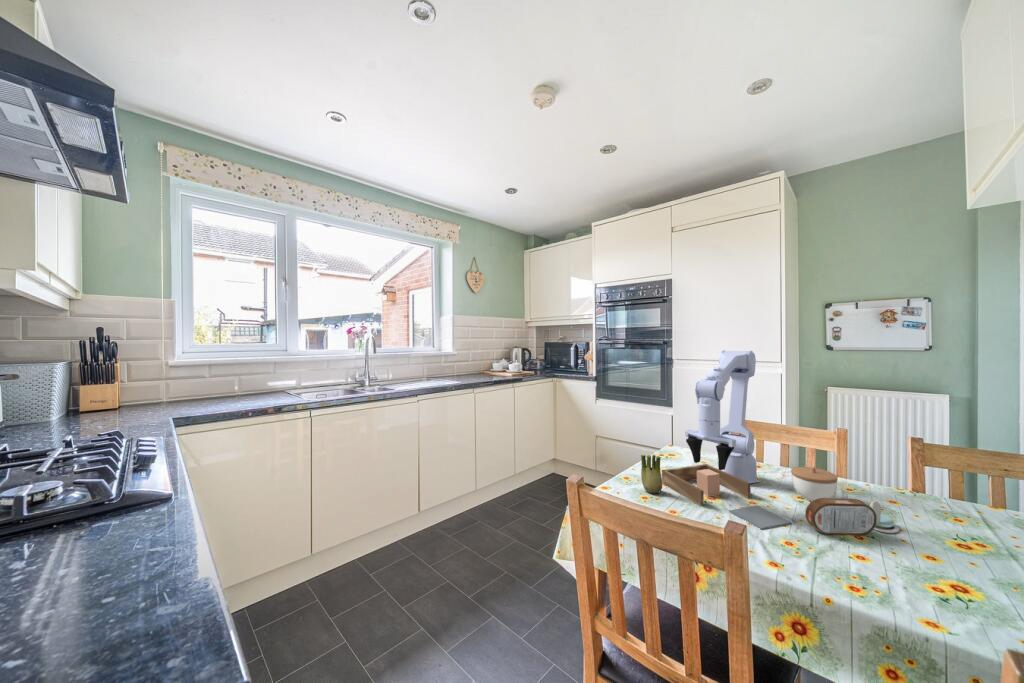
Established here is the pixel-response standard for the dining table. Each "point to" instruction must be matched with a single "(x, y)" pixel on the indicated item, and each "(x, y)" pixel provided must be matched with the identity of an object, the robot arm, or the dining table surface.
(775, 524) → the mat
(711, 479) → the block
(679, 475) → the open frame
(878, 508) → the pacifier
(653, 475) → the fennel bulb
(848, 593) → the dining table surface
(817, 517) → the tin
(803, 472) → the lidded jar
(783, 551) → the dining table surface
